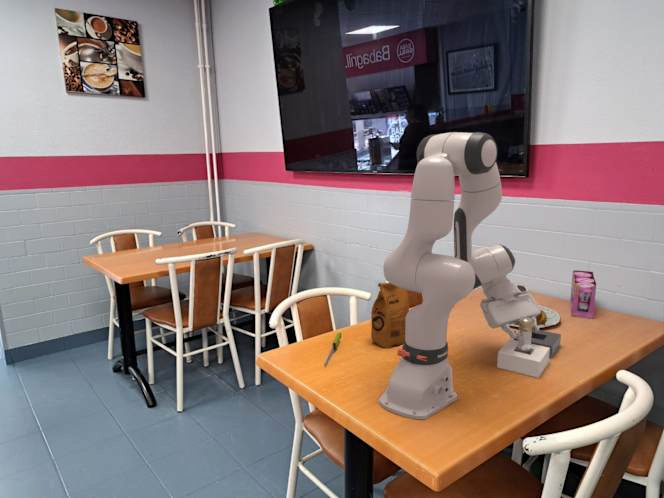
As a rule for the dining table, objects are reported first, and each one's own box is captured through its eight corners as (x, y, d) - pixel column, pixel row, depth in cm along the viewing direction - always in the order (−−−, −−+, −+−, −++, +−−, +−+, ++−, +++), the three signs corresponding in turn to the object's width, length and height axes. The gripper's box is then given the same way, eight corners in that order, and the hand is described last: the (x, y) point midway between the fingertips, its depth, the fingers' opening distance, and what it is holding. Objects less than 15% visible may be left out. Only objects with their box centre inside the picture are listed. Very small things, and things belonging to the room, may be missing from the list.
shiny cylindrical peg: (527, 369, 141) (530, 322, 138) (515, 365, 143) (518, 319, 140) (530, 364, 144) (534, 318, 141) (518, 361, 146) (521, 316, 143)
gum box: (594, 320, 180) (597, 286, 177) (571, 317, 183) (574, 284, 180) (590, 302, 201) (593, 271, 198) (569, 299, 204) (572, 269, 201)
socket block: (551, 358, 148) (552, 346, 147) (512, 349, 155) (513, 338, 154) (560, 345, 157) (561, 334, 157) (522, 337, 165) (523, 326, 164)
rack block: (538, 378, 136) (539, 362, 135) (497, 367, 143) (497, 352, 142) (548, 362, 145) (549, 347, 144) (509, 353, 152) (509, 339, 151)
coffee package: (367, 341, 164) (366, 280, 160) (393, 332, 171) (394, 274, 167) (385, 350, 156) (385, 287, 152) (412, 341, 163) (413, 280, 159)
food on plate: (574, 324, 177) (575, 308, 175) (527, 337, 166) (528, 319, 165) (520, 305, 199) (521, 290, 198) (476, 315, 188) (476, 299, 187)
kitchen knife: (326, 373, 144) (326, 364, 143) (322, 372, 144) (322, 364, 143) (341, 339, 165) (341, 331, 164) (338, 339, 165) (338, 331, 164)
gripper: (483, 295, 141) (508, 336, 134) (529, 285, 150) (554, 323, 144) (472, 305, 145) (495, 346, 139) (517, 295, 155) (540, 332, 149)
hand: (525, 334), depth 141 cm, fingers open, 8 cm apart
